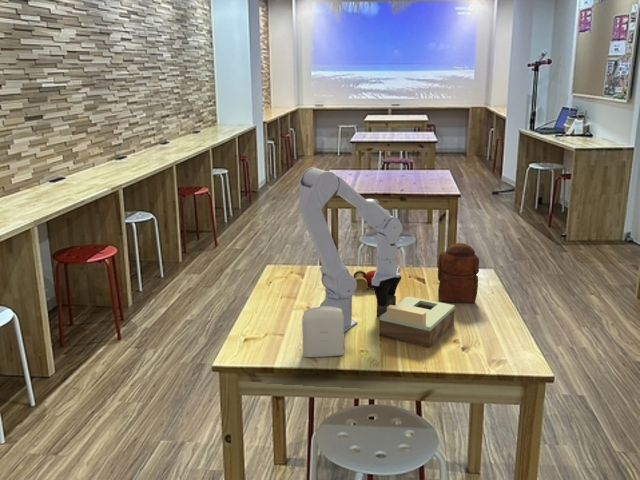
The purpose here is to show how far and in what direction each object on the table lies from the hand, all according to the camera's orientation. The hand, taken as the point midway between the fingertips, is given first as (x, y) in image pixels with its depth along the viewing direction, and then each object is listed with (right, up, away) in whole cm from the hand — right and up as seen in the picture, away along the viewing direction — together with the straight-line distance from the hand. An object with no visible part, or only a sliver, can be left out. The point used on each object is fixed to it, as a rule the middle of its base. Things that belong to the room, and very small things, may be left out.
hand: (385, 302), depth 175 cm
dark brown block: (0, -4, +1) cm, 4 cm away
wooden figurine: (+23, -1, +13) cm, 27 cm away
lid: (+8, -2, -10) cm, 13 cm away
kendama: (-8, +2, +24) cm, 26 cm away
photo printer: (-18, -11, -24) cm, 31 cm away
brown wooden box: (+8, -6, -9) cm, 14 cm away
